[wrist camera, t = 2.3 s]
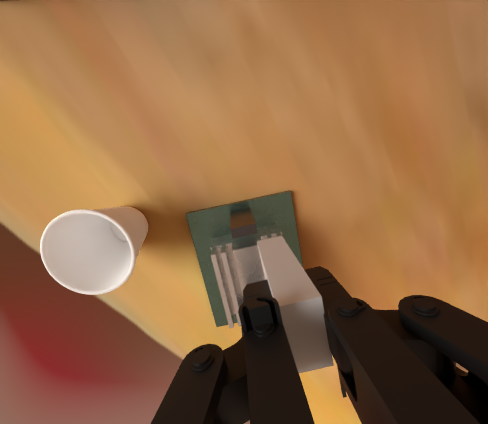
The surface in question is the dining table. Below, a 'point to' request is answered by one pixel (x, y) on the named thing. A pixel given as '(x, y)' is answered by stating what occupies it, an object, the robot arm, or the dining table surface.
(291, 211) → the green circuit board
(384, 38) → the dining table surface
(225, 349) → the robot arm
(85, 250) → the cup
